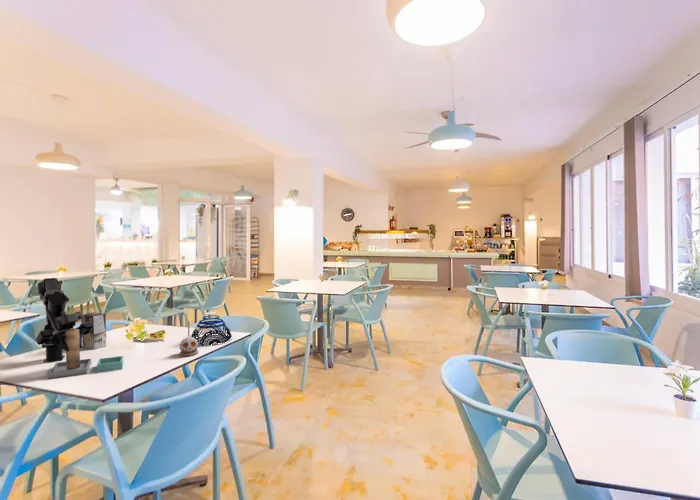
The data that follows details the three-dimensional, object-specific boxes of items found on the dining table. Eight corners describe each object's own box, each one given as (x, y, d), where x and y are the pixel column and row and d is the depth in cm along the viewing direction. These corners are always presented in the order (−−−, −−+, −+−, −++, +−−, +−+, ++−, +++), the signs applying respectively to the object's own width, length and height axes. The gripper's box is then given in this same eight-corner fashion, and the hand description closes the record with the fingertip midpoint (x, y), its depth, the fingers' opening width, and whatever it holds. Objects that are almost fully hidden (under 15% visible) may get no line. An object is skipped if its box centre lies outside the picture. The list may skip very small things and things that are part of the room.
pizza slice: (131, 343, 194) (131, 337, 194) (151, 333, 215) (151, 327, 215) (162, 343, 195) (162, 337, 194) (179, 333, 215) (179, 327, 215)
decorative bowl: (193, 348, 185) (192, 319, 184) (188, 338, 202) (187, 311, 202) (235, 342, 195) (235, 314, 194) (226, 333, 212) (226, 308, 211)
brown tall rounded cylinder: (69, 366, 154) (68, 329, 153) (81, 365, 155) (80, 328, 154) (64, 370, 150) (63, 332, 149) (77, 368, 151) (76, 331, 150)
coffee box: (107, 345, 188) (106, 313, 187) (94, 349, 182) (93, 316, 181) (94, 343, 191) (93, 312, 191) (81, 347, 185) (80, 314, 185)
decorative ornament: (180, 357, 171) (179, 324, 170) (179, 352, 177) (178, 320, 177) (199, 355, 174) (198, 322, 173) (197, 350, 181) (196, 319, 180)
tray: (56, 367, 157) (56, 362, 157) (91, 363, 163) (91, 358, 163) (48, 379, 145) (48, 373, 145) (86, 373, 150) (86, 368, 150)
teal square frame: (99, 365, 159) (99, 358, 159) (123, 362, 163) (123, 355, 163) (97, 372, 152) (96, 365, 152) (122, 369, 156) (121, 361, 156)
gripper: (38, 310, 145) (55, 343, 140) (91, 302, 161) (107, 331, 157) (29, 328, 149) (44, 360, 144) (81, 318, 165) (96, 347, 161)
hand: (74, 349), depth 151 cm, fingers closed on brown tall rounded cylinder, 4 cm apart
